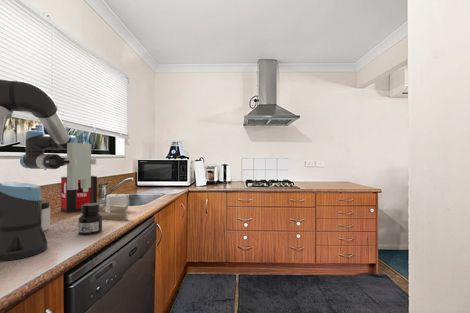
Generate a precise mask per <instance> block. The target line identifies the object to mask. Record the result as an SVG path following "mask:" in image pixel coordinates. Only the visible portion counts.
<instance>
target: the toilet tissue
mask: <svg viewBox="0 0 470 313" xmlns="http://www.w3.org/2000/svg"><path fill="white" fill-rule="evenodd" d="M105 198H106V199H105V211H110V206H112V205H121V206H127V194H126V193H125V194H124V193H110V194H107V195H106V196H105Z"/></svg>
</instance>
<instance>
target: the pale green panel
mask: <svg viewBox="0 0 470 313" xmlns="http://www.w3.org/2000/svg"><path fill="white" fill-rule="evenodd" d="M66 152H67V153H66V158H67V159H77V165H66V177H67V190H76V189H78V180H81V188H90V187H91V176H92V164H91V159H92V144H91V143H82V142H77V143H67V150H66Z"/></svg>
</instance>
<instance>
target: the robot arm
mask: <svg viewBox="0 0 470 313" xmlns="http://www.w3.org/2000/svg"><path fill="white" fill-rule="evenodd" d="M14 112H26V113H31V115H33V116H34V117H36V118H37V119H38V120H39V122H40V124H41V125H42V126H43V127H44V129H45V131H46V133H47V134H46V133H45V131H43V130H34V129H33V130H26V132H25V139H24V140H25V152H24V154H23V155H22V156H21V157H20V158H19V163H20V165H21V167H23V168H25V169H32V170H34V169H35V170H43V171H47V170H57V169H59V168H60V167H64V166H67V165H77V159H67V157H61V155H60V154H56V153H45V150H56V151H57V150H64V151H67V143H78V137H76V135H72V134H71V135H69V132H68V130H67V129H66V127H65V125H64V122H63V120H62V119H61V117H60V115H59V113H58V105H57V104H56V101H55V99H53V97H52V96H51V94H49V93H47V91H45V89H43V88H41V87H40V86H38V85H36V84H34V83H32V82H27V81H25V80H11V79H0V143H2V136H3V133H4V129H5V124H6V121H8V120H10V119H11V118H12V116H13V113H14ZM91 165H97V158H91ZM42 201H43V196H42V188H41V187H40V186H39V185H37V184H34V183H30V182H19V181H18V182H15V181H14V182H9V181H8V182H7V181H6V182H0V262H5V261H6V262H7V261H14V260H20V259H26V258H29V257H33V256H34V255H39V254H41V253H43V252H44V251H46V250H47V249H48V239H47V238H46V235H45V234H46V233H45V232H44V231H43V229H42V226H41V214H42Z"/></svg>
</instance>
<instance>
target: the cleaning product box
mask: <svg viewBox="0 0 470 313" xmlns="http://www.w3.org/2000/svg"><path fill="white" fill-rule="evenodd" d="M87 203H98V176H96V175H91V187H90V188H81V180H78V189H76V190H67V176H61V179H60V211H61V212H63V211H64V212H63V213H67V214H69V213H74V212H75V213H76V212H80V211H81V210H82V204H87ZM68 212H69V213H68Z"/></svg>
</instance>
